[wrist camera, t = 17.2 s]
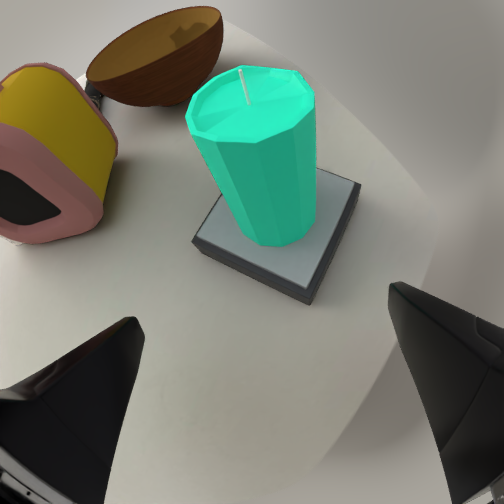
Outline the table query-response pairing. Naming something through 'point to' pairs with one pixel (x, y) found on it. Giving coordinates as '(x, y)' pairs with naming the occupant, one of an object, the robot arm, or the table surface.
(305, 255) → the scale
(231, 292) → the table surface
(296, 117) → the candle
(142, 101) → the bowl
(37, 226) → the alarm clock
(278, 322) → the table surface
